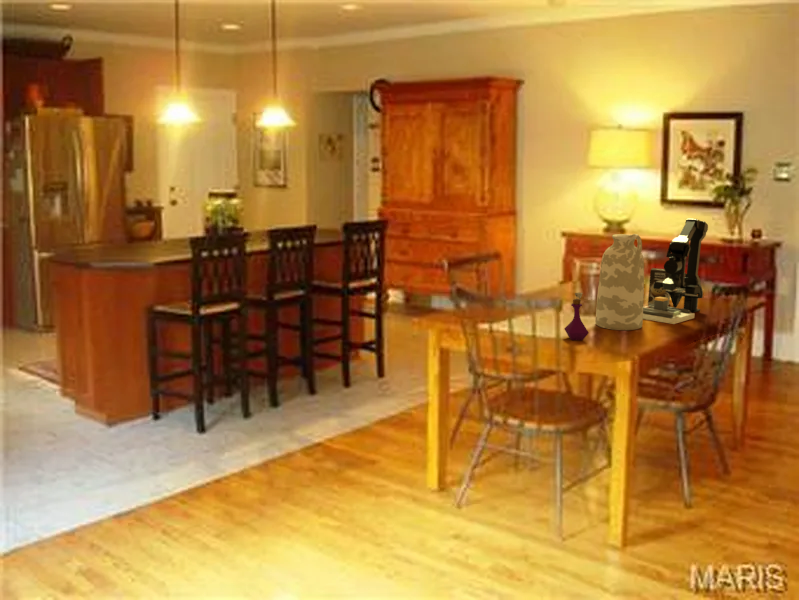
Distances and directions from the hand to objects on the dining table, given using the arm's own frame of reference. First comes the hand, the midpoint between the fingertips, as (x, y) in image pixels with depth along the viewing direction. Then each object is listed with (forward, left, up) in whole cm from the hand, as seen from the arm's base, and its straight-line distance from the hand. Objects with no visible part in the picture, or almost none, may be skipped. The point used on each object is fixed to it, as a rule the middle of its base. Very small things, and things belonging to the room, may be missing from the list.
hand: (675, 307), depth 385 cm
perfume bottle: (+62, -7, -5) cm, 63 cm away
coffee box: (-26, -21, -5) cm, 34 cm away
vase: (+29, -8, -5) cm, 31 cm away
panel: (0, -6, -5) cm, 8 cm away
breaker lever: (0, -7, -3) cm, 7 cm away
